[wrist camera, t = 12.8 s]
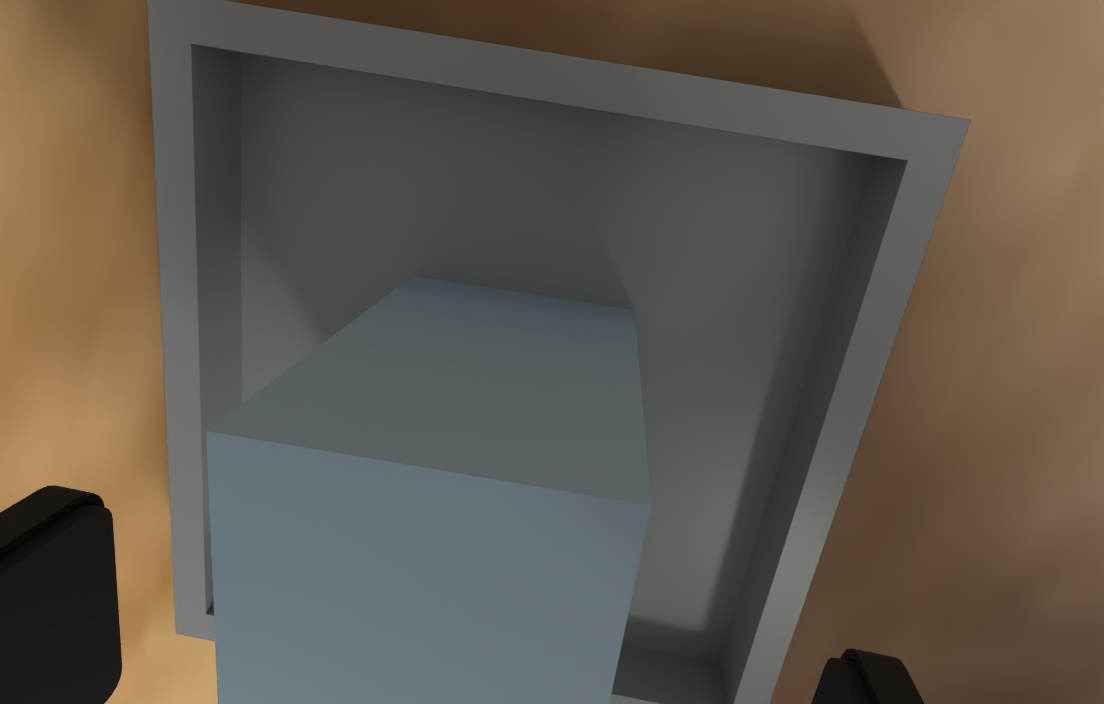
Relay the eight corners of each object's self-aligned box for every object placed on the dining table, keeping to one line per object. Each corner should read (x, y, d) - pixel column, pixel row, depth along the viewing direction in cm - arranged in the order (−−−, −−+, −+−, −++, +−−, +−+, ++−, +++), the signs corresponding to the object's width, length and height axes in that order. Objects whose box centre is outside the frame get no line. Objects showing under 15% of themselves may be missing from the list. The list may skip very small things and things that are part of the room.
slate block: (634, 309, 15) (650, 505, 7) (599, 504, 16) (582, 827, 9) (412, 275, 15) (205, 431, 7) (400, 470, 17) (219, 758, 9)
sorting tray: (910, 120, 14) (970, 119, 11) (736, 668, 19) (753, 748, 16) (224, 9, 14) (146, -13, 12) (230, 570, 19) (175, 633, 17)
